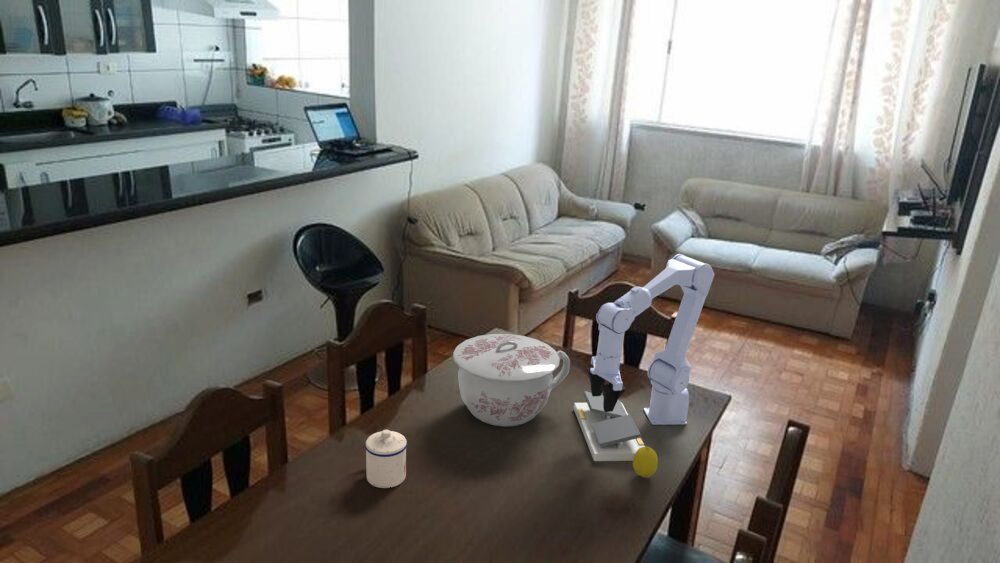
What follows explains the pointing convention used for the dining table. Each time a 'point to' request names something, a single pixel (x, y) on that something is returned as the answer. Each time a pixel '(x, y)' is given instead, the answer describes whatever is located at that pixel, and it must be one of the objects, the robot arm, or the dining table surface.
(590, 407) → the rocker
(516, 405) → the chamber pot
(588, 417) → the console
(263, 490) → the dining table surface
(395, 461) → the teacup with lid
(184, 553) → the dining table surface
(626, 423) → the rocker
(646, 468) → the lemon
